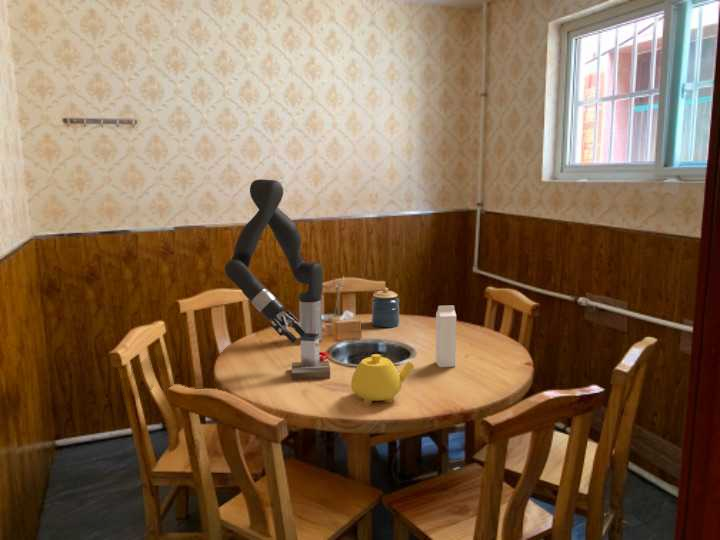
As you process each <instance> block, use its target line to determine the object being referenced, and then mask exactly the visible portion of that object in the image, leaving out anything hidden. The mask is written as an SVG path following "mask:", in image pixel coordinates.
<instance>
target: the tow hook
mask: <svg viewBox="0 0 720 540" xmlns="http://www.w3.org/2000/svg"><path fill="white" fill-rule="evenodd" d="M314 334H317V332H316V327H314ZM320 355H321V356H320ZM329 357H330V354H329V353H328V352H326V351H325V352H324V351H319V361H325V359H328V358H329Z"/></svg>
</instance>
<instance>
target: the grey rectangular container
mask: <svg viewBox="0 0 720 540" xmlns="http://www.w3.org/2000/svg"><path fill="white" fill-rule="evenodd" d="M299 338H300V339H299V341H300V362H301V367H317V366H318V365H319V364H320V362H319V357H320V354H319V352H320V341H319V334H312V333H305V334H304V335H302V336H301V337H299Z"/></svg>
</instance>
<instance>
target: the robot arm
mask: <svg viewBox="0 0 720 540" xmlns="http://www.w3.org/2000/svg"><path fill="white" fill-rule="evenodd" d="M249 195H250V197H251V200H252V201H253V203H254V205H255V206H256V207H257V209H258V210H257V212H256V214H255V215H254V216H253V217H251V219H250V220H249V221H248V222H247V223H246V224H245V225H244V227H243V228H242V229H241V231H240V233H239V235H238V237H237V240H236V243H235V244H234V248H233V255H232V257H231V260H229V261H227V262H226V264H225V265H224V273H225V276H226V278H227V279H228V280H229V281H230V282H233V283H234V284H235V285H236V286H237V287H238V288H239V290H241V292H242V294H243V295H244V296H245V297H246V298H247V299H248V300H249V301H250V302H251V304H252V305H253V307H254V308H255V309H257V311H258V312H259V313H260V314H261V315H262V316H263V317H264V319H266V320H267V321H268V322H270V321H271V322H270V323H269V325H270V326H271V327H272V329H274V330H275V332H276V333H277V334H278V335H279V336H280V337H282V336H283V337H286V338H287V339H288V340H289V341H290V342H291V343H292V344H294V343H295V342H297V341H298V337H296V335H295V334H294V333H292V331H290V329H289V327H290V328H292V329H294V331H295V332H296V333H297V335H299V336H300V337H301V336H302V335H304V334H305V333H312V334H314V327H316V332H317V334H319V342H320V341H322V340H323V326H322V325H323V321H322V320H323V319H322V317H323V314H322V295H323V279H324V273H323V267H322V266H321V264H320V263H318V262H310V261H306V260H304V259H303V257H302V255H301V252H300V250H301V245H302V236H301V235H302V234H301V233H300V231H299V229H298V227H297V226H296V225H297V224H296V223H295V222H294V221H293V220H292V219H291V217H289V216H288V215H287V214H285V213H284V212H283V211H282V210H281V209H280V208H279V205H280V204H281V202H282V199H283V197H284V187H283V185H282V183H281V182H280V181H279V180H275V179H262V178H261V179H260V178H259V179H255V180H253V181H252V182H251V183H250V186H249ZM267 225H268V226H269V228H270V230H271V232H272V233H273V235H274V237H275V240H276V241H277V244H278V245H279V246H280V248H281V250H282V252H283V254H284V256H285V258H286V260H287V262H288V264H289V267H290V270H291V273H292V275H293V277H294V279H295V281H296V282H297V283H299V284H302V285H308V287H307V290H306V291H303V292H300V293H299V295H298V305H299V318H297V317H296V316H295V315H294V314H293V313H292V312H291V310H289V309H287V310H286V311H284V310H283V309H284V308H285V305H284V304H283V303H282V302H281V301H280V300H279V299H278V298H277V297H276V296H275V295H274V294H273V293H272V292H271V291H270V290H269V289H268V288H266V287H265V286H264V285H263V283H262V282H260V280H258V279H257V277H255V276H254V275H253V273H252V272H251V271H250V269H249V267H250V264H251V260H252V257H253V255H254V253H255V252H256V248H257V247H258V244H259V241H260V239H261V235H262V234H263V232H264V231H265V229H266V227H267ZM300 337H299V338H300Z"/></svg>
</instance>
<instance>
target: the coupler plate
mask: <svg viewBox="0 0 720 540" xmlns="http://www.w3.org/2000/svg"><path fill="white" fill-rule="evenodd" d="M319 362H320V364H319V365H318V366H317V367H301V361H298V362H294V361H293V362H291V363H292V364H291V381H304V380H321V379H322V380H323V379H324V378H327V379H331V366H330V361H329V360H324V361H319Z"/></svg>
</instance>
